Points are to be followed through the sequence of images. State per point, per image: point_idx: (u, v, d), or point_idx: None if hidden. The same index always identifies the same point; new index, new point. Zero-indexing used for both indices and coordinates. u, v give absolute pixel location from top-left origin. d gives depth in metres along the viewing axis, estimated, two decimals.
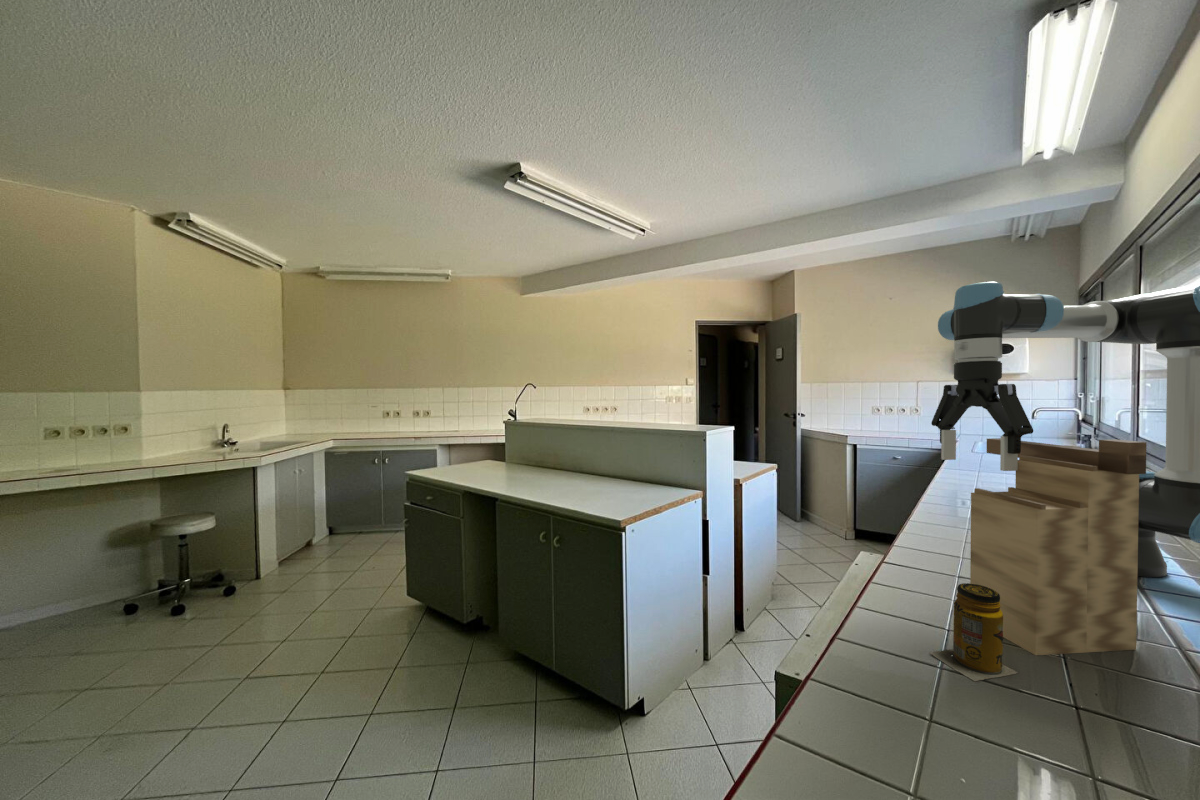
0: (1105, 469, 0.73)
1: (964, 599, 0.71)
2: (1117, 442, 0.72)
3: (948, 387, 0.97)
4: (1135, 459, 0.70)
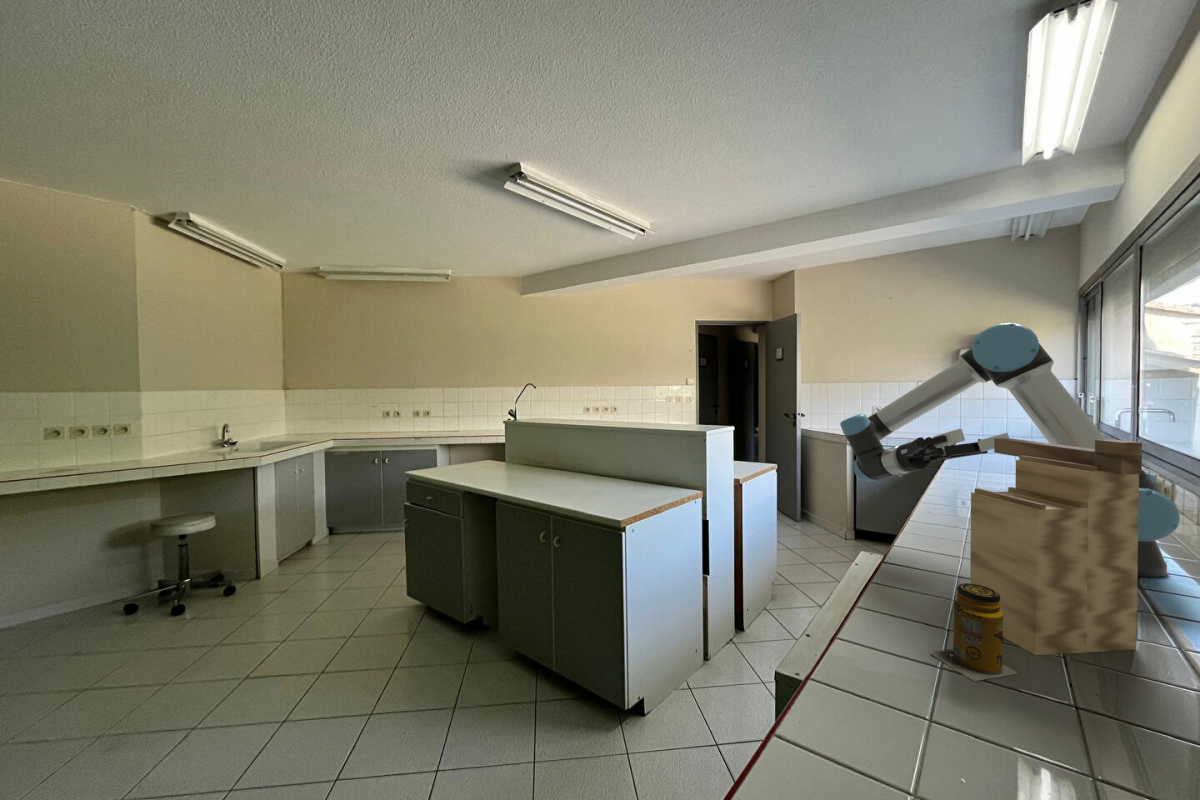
0: (1100, 469, 0.74)
1: (964, 599, 0.71)
2: (1111, 442, 0.72)
3: (942, 459, 1.18)
4: (1129, 459, 0.70)
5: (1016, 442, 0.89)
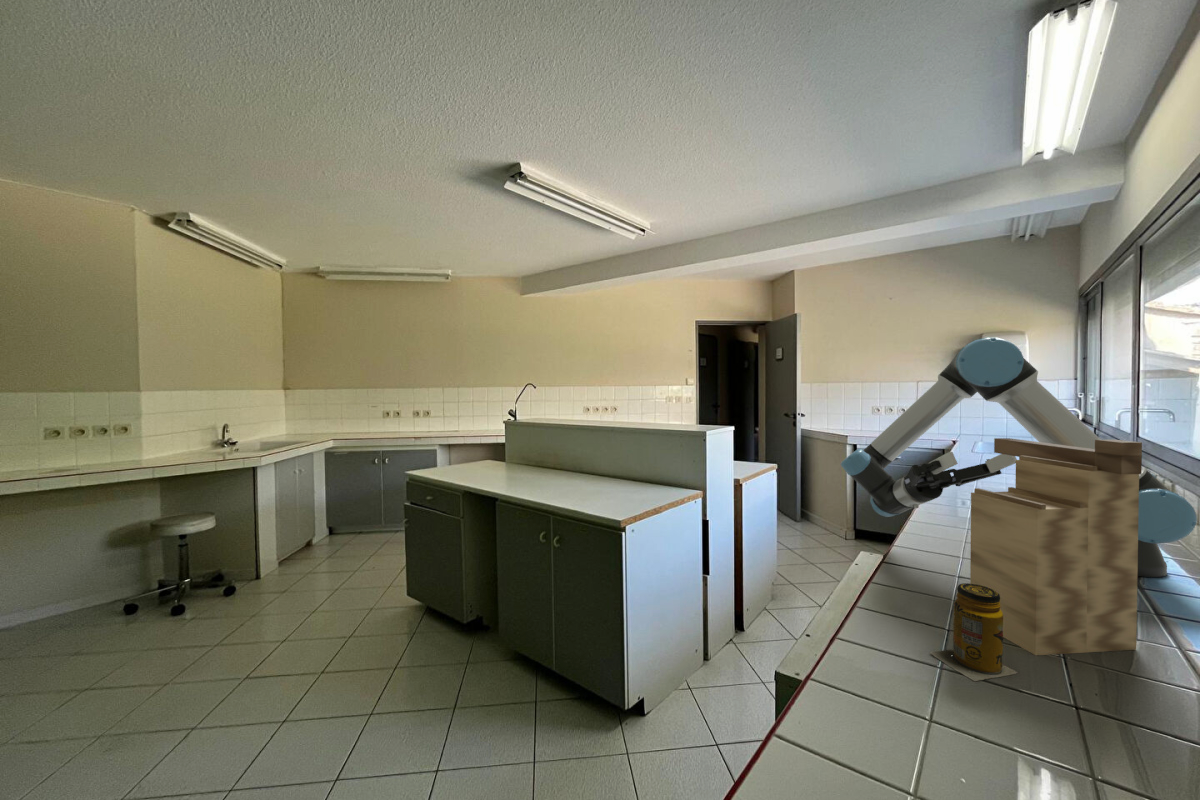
0: (1100, 469, 0.74)
1: (964, 599, 0.71)
2: (1111, 442, 0.72)
3: (956, 485, 1.10)
4: (1129, 459, 0.70)
5: (1016, 442, 0.89)
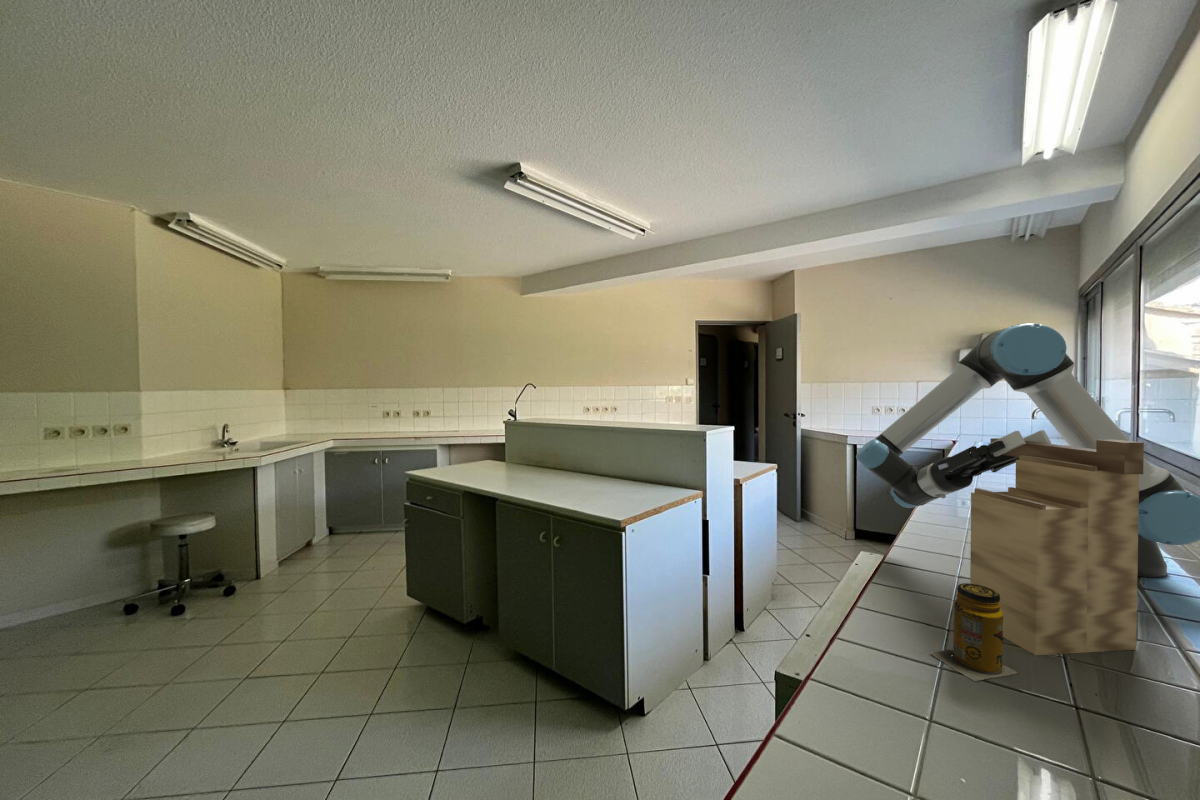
0: (1102, 469, 0.73)
1: (964, 599, 0.71)
2: (1114, 442, 0.72)
3: (992, 471, 1.01)
4: (1132, 459, 0.70)
5: None
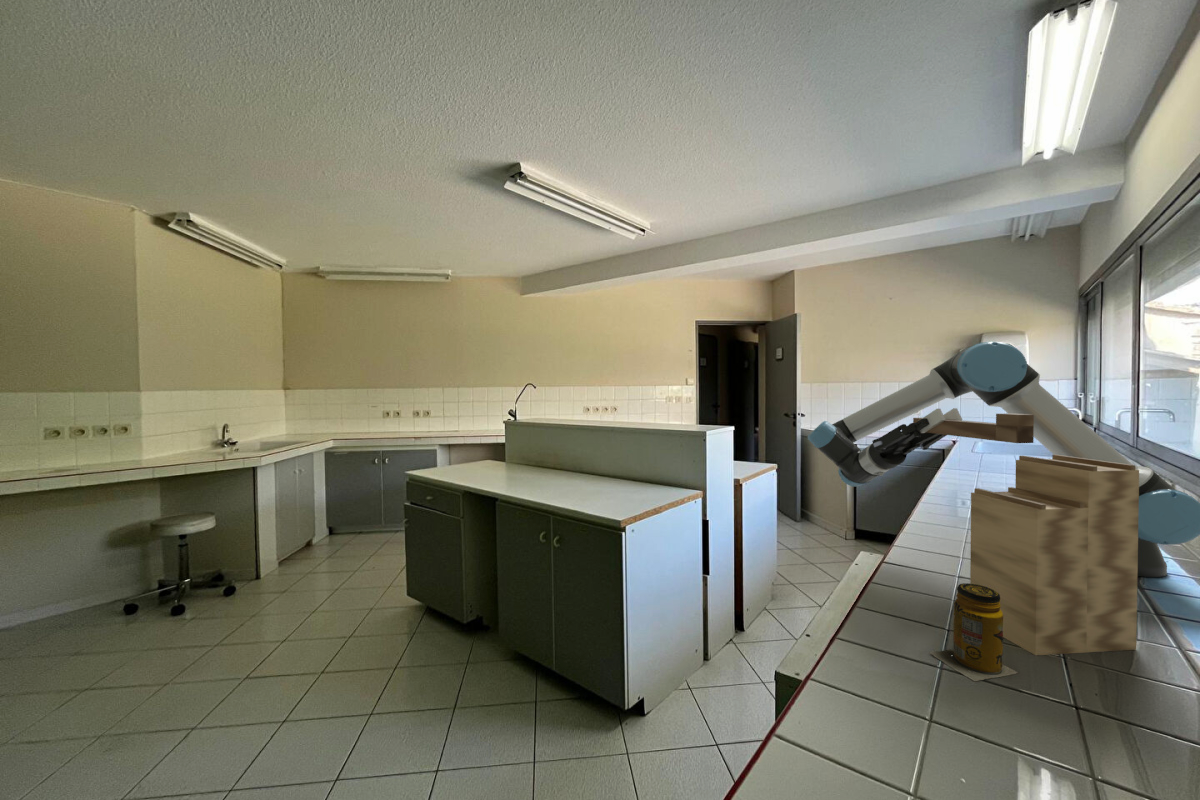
0: (1000, 440, 0.81)
1: (964, 599, 0.71)
2: (1009, 415, 0.80)
3: (922, 448, 1.09)
4: (1024, 429, 0.79)
5: None
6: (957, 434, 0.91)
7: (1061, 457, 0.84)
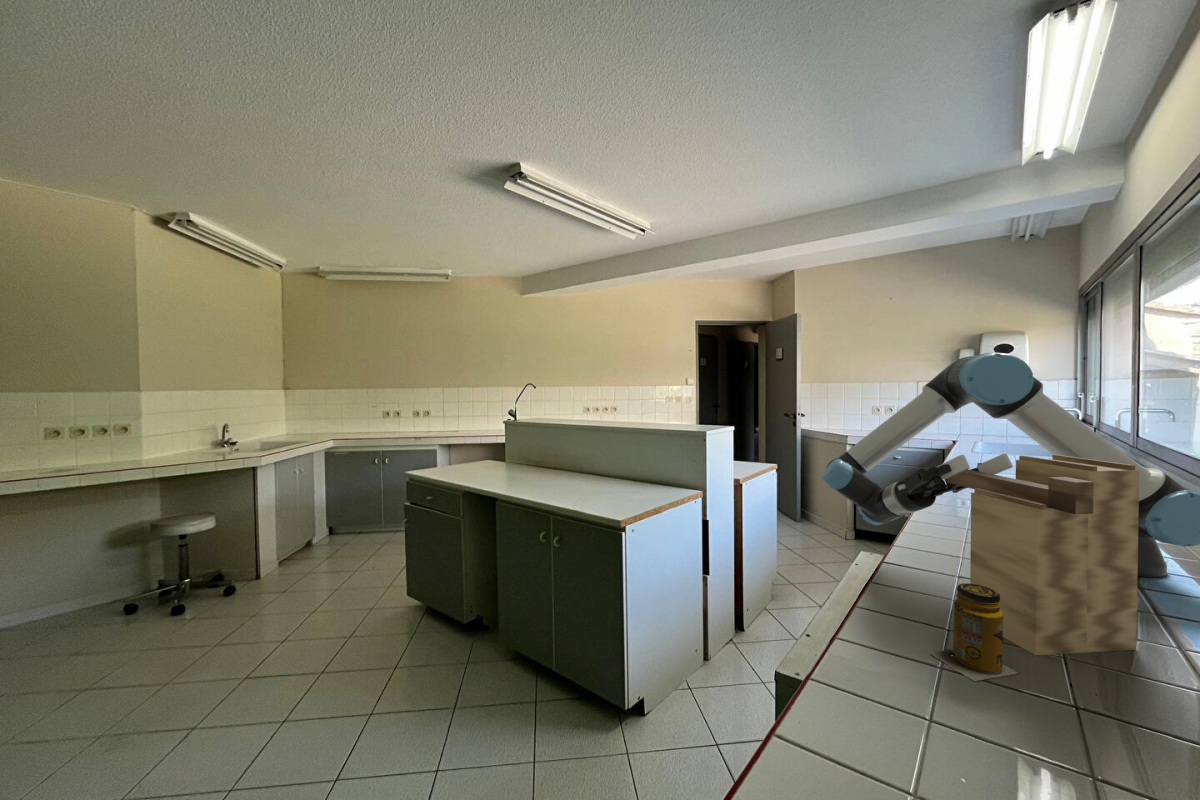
0: (1054, 507, 0.73)
1: (964, 599, 0.71)
2: (1065, 481, 0.71)
3: (953, 491, 1.01)
4: (1082, 499, 0.70)
5: (968, 474, 0.89)
6: (1000, 493, 0.82)
7: (1061, 457, 0.84)
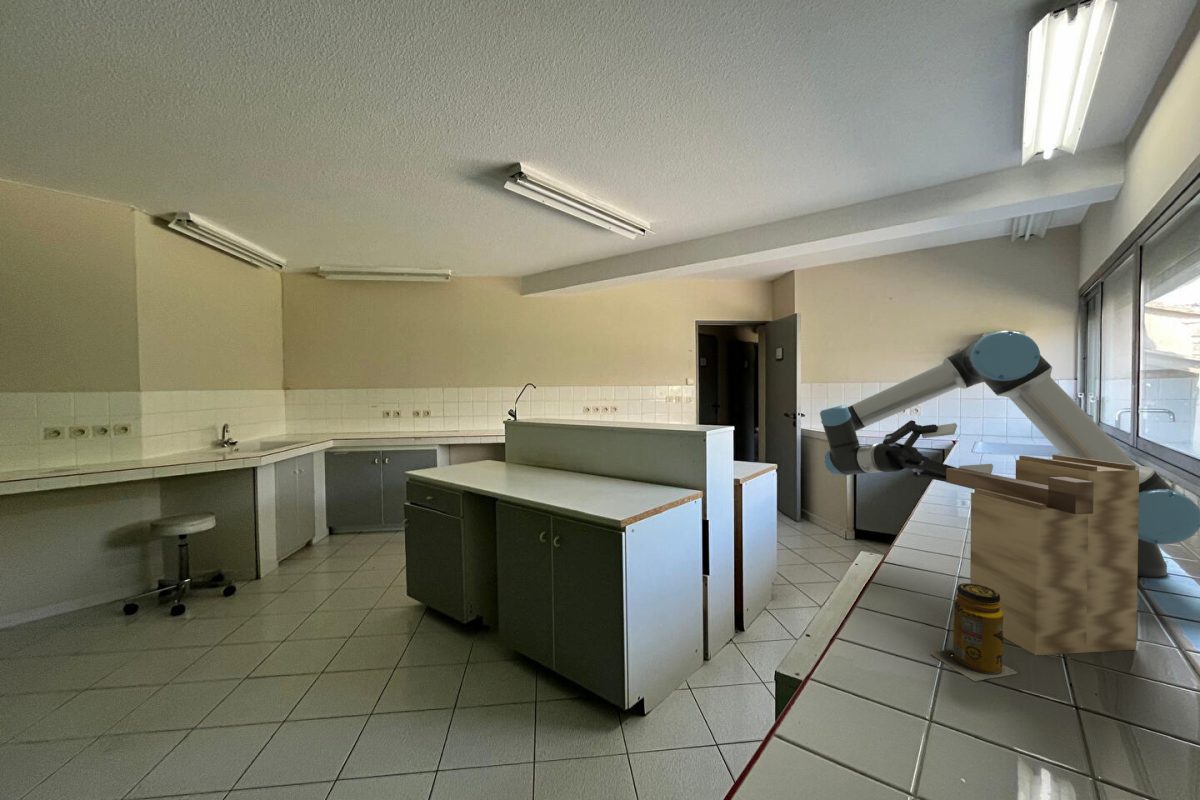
0: (1054, 507, 0.73)
1: (964, 599, 0.71)
2: (1065, 481, 0.71)
3: (914, 474, 1.14)
4: (1082, 499, 0.70)
5: (968, 474, 0.89)
6: (1000, 493, 0.82)
7: (1061, 457, 0.84)
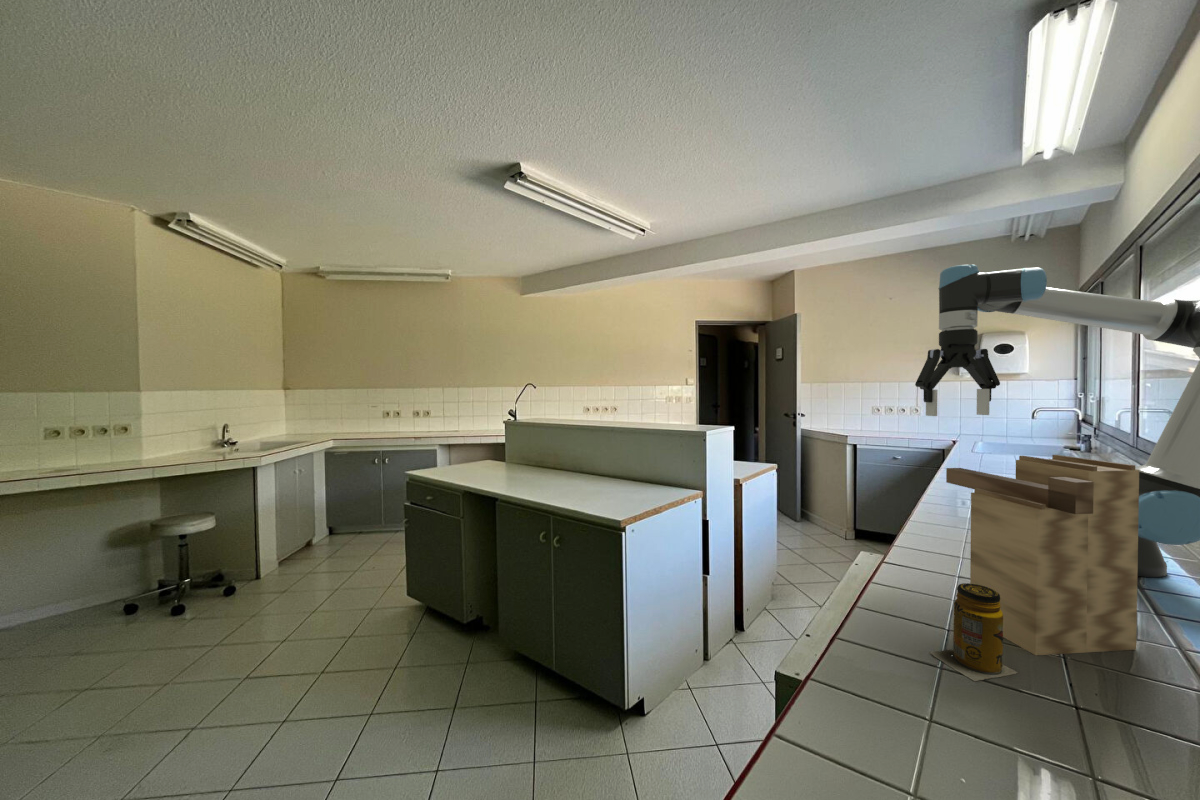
0: (1054, 507, 0.73)
1: (964, 599, 0.71)
2: (1065, 481, 0.71)
3: (939, 351, 1.10)
4: (1082, 499, 0.70)
5: (968, 474, 0.89)
6: (1000, 493, 0.82)
7: (1061, 457, 0.84)
